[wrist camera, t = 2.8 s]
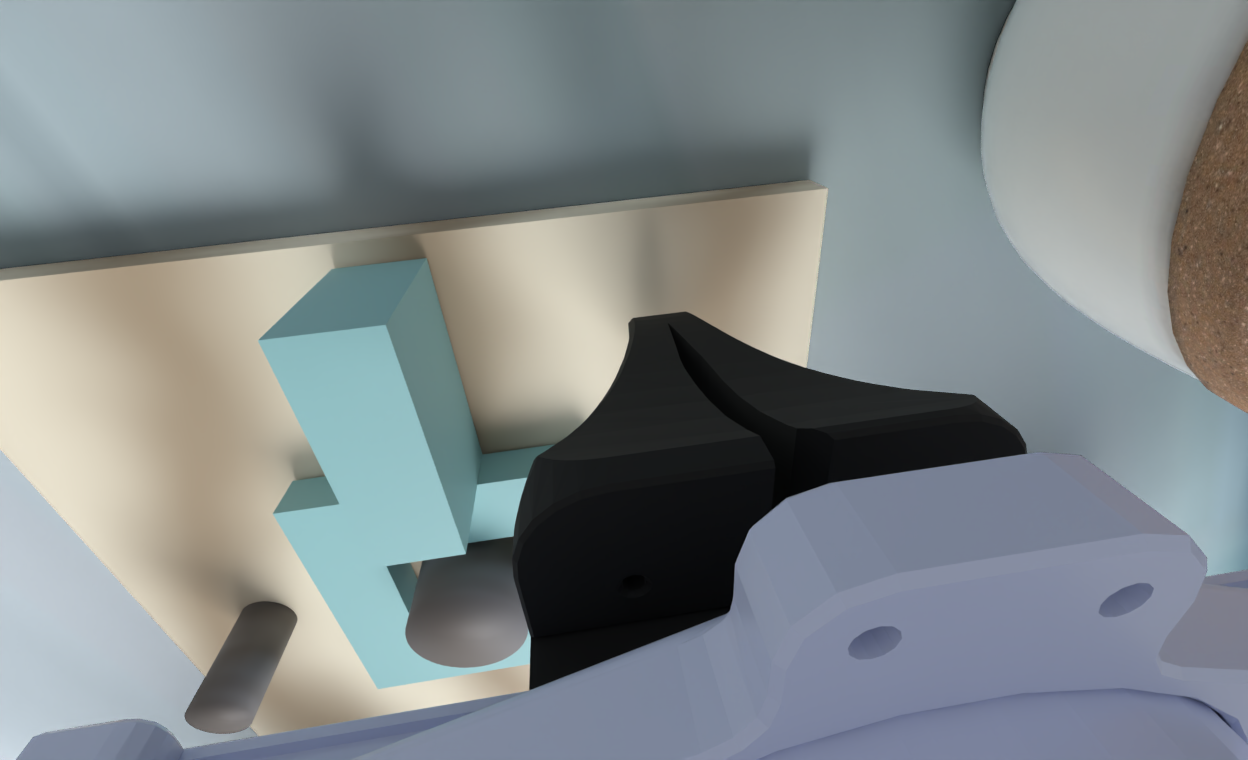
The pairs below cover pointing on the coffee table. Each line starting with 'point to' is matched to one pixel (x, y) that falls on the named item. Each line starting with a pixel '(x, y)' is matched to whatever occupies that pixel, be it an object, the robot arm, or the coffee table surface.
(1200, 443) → the coffee table surface
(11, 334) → the board
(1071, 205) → the lidded jar
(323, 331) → the angular block
